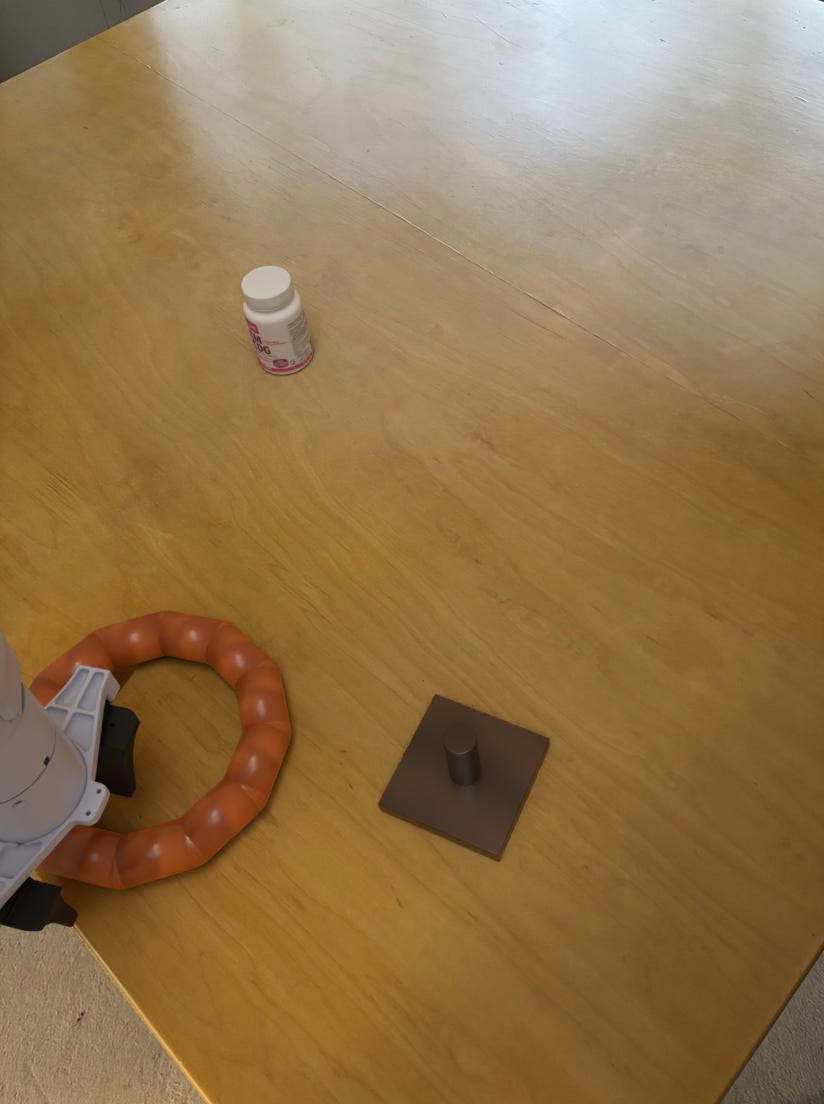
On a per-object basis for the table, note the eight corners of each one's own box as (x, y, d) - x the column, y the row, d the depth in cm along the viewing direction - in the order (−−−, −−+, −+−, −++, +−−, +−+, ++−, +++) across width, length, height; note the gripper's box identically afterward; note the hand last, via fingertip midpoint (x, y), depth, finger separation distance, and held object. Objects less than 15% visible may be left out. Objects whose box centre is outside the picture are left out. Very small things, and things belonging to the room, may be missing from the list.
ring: (229, 923, 62) (216, 906, 60) (-44, 856, 65) (-66, 838, 63) (329, 653, 73) (321, 630, 71) (91, 608, 76) (76, 585, 74)
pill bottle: (248, 369, 91) (224, 293, 84) (275, 332, 94) (254, 256, 87) (297, 382, 90) (277, 306, 83) (324, 344, 92) (306, 268, 86)
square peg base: (498, 862, 63) (494, 827, 59) (379, 810, 66) (367, 772, 61) (550, 745, 68) (549, 704, 63) (436, 700, 70) (428, 658, 66)
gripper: (-7, 920, 47) (96, 998, 58) (135, 639, 56) (201, 751, 67) (-143, 885, 49) (-19, 967, 59) (16, 616, 58) (99, 729, 68)
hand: (90, 851), depth 63 cm, fingers open, 7 cm apart
